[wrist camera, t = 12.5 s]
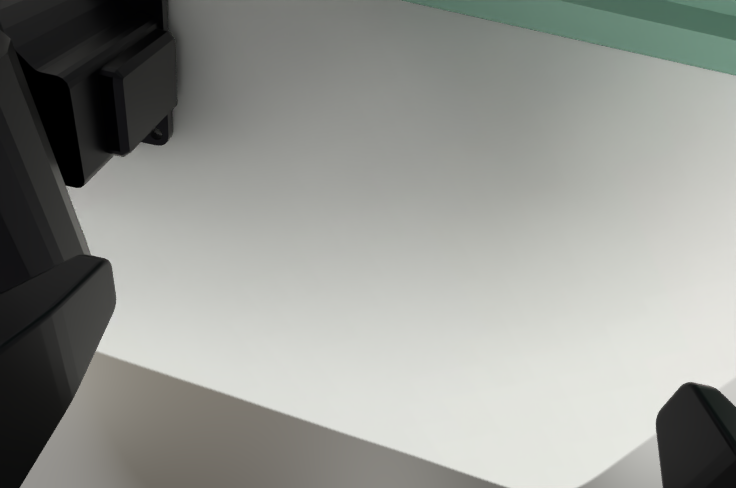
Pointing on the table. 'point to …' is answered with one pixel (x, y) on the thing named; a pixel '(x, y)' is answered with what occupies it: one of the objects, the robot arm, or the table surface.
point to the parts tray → (623, 25)
